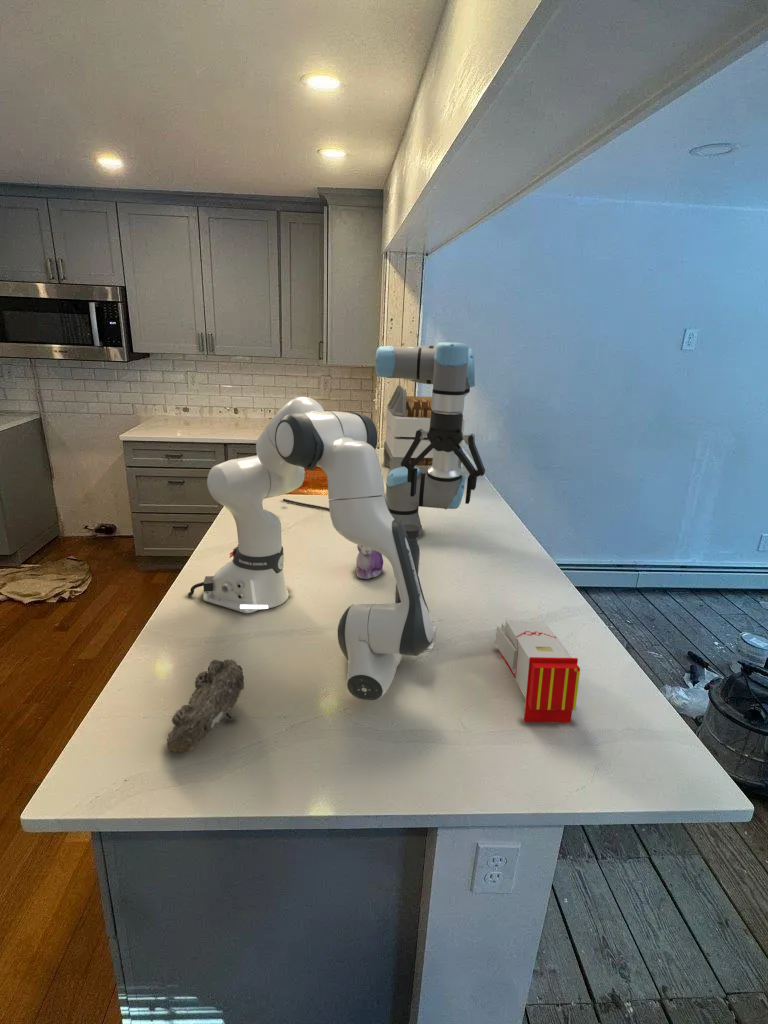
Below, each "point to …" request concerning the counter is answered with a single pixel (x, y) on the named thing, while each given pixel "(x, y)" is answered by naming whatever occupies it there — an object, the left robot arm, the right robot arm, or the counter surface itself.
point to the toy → (540, 670)
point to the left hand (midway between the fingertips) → (398, 613)
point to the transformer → (407, 428)
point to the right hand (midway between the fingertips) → (440, 498)
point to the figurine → (368, 563)
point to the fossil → (206, 705)
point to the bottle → (416, 554)
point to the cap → (411, 531)
